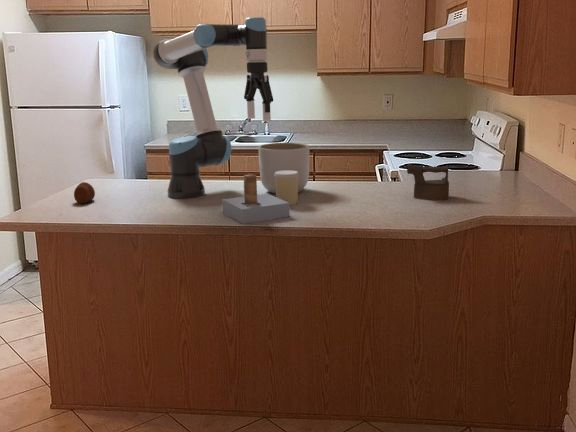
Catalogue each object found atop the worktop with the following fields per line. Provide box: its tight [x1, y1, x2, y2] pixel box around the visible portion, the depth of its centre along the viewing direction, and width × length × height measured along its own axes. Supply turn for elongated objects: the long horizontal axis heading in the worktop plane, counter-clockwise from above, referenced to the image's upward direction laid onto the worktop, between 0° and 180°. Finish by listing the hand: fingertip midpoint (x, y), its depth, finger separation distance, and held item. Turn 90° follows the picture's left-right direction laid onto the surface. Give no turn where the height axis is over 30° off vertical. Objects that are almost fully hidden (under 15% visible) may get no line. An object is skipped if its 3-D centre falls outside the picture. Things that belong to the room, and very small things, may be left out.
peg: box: [243, 174, 258, 206], centre depth 222 cm, size 5×5×15 cm
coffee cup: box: [274, 170, 299, 206], centre depth 243 cm, size 9×9×12 cm
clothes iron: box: [406, 163, 450, 201], centre depth 246 cm, size 8×16×13 cm, turn 87°
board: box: [221, 193, 291, 225], centre depth 227 cm, size 18×18×5 cm
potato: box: [73, 181, 96, 205], centre depth 253 cm, size 8×12×8 cm, turn 0°
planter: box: [258, 142, 310, 195], centre depth 262 cm, size 21×21×19 cm
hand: (258, 120), depth 238 cm, fingers open, 13 cm apart
